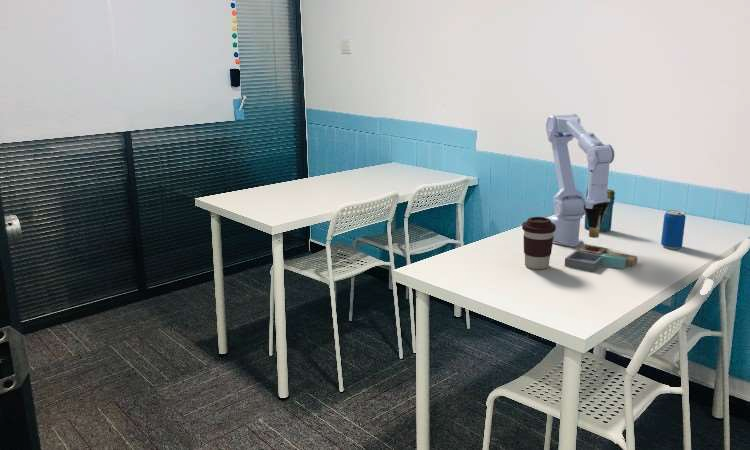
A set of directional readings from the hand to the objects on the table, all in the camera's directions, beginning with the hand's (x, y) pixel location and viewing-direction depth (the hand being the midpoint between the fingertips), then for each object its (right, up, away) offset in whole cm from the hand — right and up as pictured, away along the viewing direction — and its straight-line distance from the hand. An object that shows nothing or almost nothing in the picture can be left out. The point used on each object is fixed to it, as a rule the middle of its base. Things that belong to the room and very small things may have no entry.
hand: (594, 226), depth 206 cm
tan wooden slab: (+8, -12, -2) cm, 14 cm away
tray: (-5, -12, -4) cm, 13 cm away
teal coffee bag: (+12, -2, +32) cm, 34 cm away
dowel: (0, -3, +1) cm, 3 cm away
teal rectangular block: (+4, -12, -5) cm, 14 cm away
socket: (0, -10, +4) cm, 10 cm away
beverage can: (+30, -7, +12) cm, 33 cm away
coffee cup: (-19, -13, -4) cm, 24 cm away
